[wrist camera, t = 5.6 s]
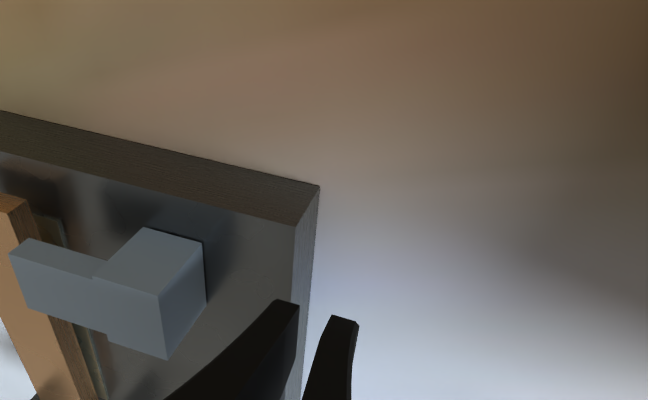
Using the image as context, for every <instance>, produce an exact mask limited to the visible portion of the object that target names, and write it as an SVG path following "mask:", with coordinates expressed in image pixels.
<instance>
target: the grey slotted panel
mask: <svg viewBox="0 0 648 400" xmlns="http://www.w3.org/2000/svg"><path fill="white" fill-rule="evenodd" d="M0 192H2V193H6V194H10V195H13V196H17V197H20V198H24V199H27V200H28V203H29V205H30V208H31V211H32V214H33V217H34V220H35V222H36V225H37V228H38V231H39V234H40V236H41V239H42V242H45V243H48V244H52V245H55V246H58V247H62V248H65V249H69V250H72V251H75V252H79V253H82V254H85V255H89V256H92V257H96V258H99V259H102V260H106V261H108V260H109V259H110V258H111V257H112V256H113V255H114V254H115V253H116V252H117V251H118V250H119V249H121V248H122V247H123V246H124V245H125V244H126V243H127V242H128V241H129V240H130V239H131V238H132V237H133V236H134V235H135V234H136V233H137V232H138V231H139V230H140V229H142V228H143V227H145V228H149V229H153V230H156V231H160V232H164V233H167V234H171V235H174V236H178V237H182V238H185V239H189V240H193V241H196V242H200V243H202V251H203V265H204V278H205V291H206V304H207V305H206V307H205V308H204V310H203V311H202V313H201V314H200V315H199V317H198V318H197V320H196V321H195V323H194V324H193V325H192V327H191V328H190V330H189V331H188V333H187V334H186V335H185V337H184V338H183V340H182V341H181V343H180V344H179V345H178V347H177V348H176V350H175V351H174V353H173V354H172V355H171V357H170V358H169V360H168V361H167V360H164V359H161V358H158V357H155V356H152V355H149V354H146V353H143V352H140V351H137V350H134V349H131V348H128V347H125V346H122V345H119V344H116V343H113V342H110V341H108V337H107V334H105V333H102V332H99V331H96V330H93V329H90V328H86V327H83V326H80V325H77V324H74V323H71V324H72V326H73V329H74V332H75V335H76V338H77V340H78V343H79V346H80V349H81V352H82V354H83V357H84V360H85V363H86V366H87V369H88V371H89V374H90V377H91V380H92V383H93V385H94V388H95V391H96V394H97V397H98V399H99V400H163V399H164V398H166V397H167V396H169V395H170V394H171V393H173V392H174V391H175V390H176V389H178V388H179V387H180V386H182V385H183V384H184V383H185V382H187V381H188V380H189V379H190V378H192V377H193V376H194V375H195V374H196V373H198V372H199V371H200V370H201V369H202V368H204V367H205V366H206V365H207V364H208V363H210V362H211V361H212V360H213V359H214V358H215V357H217V356H218V355H219V354H220V353H221V352H222V351H223V350H224V349H225V348H226V347H227V346H229V345H230V344H231V343H232V342H233V341H234V340H235V339H236V338H237V337H238V336H239V335H240V334H241V333H242V332H243V331H244V330H246V329H247V328H248V327H249V326H250V325H251V324H252V323H253V322H254V321H255V320H256V318H257V317H258V316H259V315H260V314H261V313H262V312H263V311H264V310H265V309H266V308H267V307H268V306H269V305H270V303H271V302H272V301H273V300H275V299H280V300H284V301H287V302H291V303H294V304H298V305H300V312H299V324H298V336H297V348H296V358H295V361H294V364H293V367H292V369H291V372H290V375H289V378H288V380H287V383H286V386H285V388H284V391H283V394H282V396H281V398H280V400H300V395H301V384H302V373H303V363H304V352H305V341H306V331H307V320H308V310H309V299H310V288H311V278H312V267H313V256H314V246H315V235H316V224H317V214H318V203H319V193H320V187H319V186H315V185H311V184H307V183H303V182H298V181H294V180H290V179H286V178H282V177H277V176H273V175H269V174H265V173H261V172H256V171H252V170H248V169H244V168H239V167H235V166H231V165H227V164H223V163H218V162H214V161H210V160H206V159H202V158H197V157H193V156H189V155H185V154H181V153H176V152H172V151H168V150H164V149H159V148H155V147H151V146H147V145H143V144H138V143H134V142H130V141H126V140H122V139H117V138H113V137H109V136H105V135H101V134H96V133H92V132H88V131H84V130H79V129H75V128H71V127H67V126H63V125H58V124H54V123H50V122H46V121H42V120H37V119H33V118H29V117H25V116H21V115H16V114H12V113H8V112H4V111H0ZM31 400H40V398H39V396H38V394H37V393H36V394H35V395H34V397H33V398H32V399H31Z"/></svg>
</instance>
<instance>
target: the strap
mask: <svg viewBox="0 0 648 400" xmlns="http://www.w3.org/2000/svg"><path fill="white" fill-rule="evenodd" d="M28 238H32V239H35V240H38V241H42V239H41V236H40V234H39V231H38V228H37V225H36V222H35V220H34V217H33V214H32V211H31V208H30V205H29V203H28V200H27V199H24V198H20V197H17V196H13V195H10V194H6V193H2V192H0V317H1V319H2V321H3V323H4V326H5V328H6V330H7V332H8V334H9V336H10V338H11V340H12V342H13V344H14V346H15V348H16V350H17V353H18V355H19V357H20V359H21V361H22V363H23V365H24V367H25V369H26V371H27V373H28V375H29V377H30V380H31V382H32V384H33V386H34V388H35V390H36V392H37V394H38V396H39V398H40V400H99V399H98V397H97V394H96V391H95V388H94V385H93V383H92V380H91V377H90V374H89V371H88V369H87V366H86V363H85V360H84V357H83V354H82V352H81V349H80V346H79V343H78V340H77V338H76V335H75V332H74V329H73V326H72V324H71V322H68V321H65V320H62V319H59V318H56V317H53V316H50V315H47V314H44V313H41V312H38V311H35V310H32V309H29V308H28V307H27V305H26V302H25V299H24V296H23V294H22V291H21V288H20V286H19V283H18V280H17V278H16V275H15V272H14V270H13V267H12V264H11V262H10V259H9V256H8V253H9V252H10V251H12V250H13V249H14V248H16V247H17V246H18V245H20V244H21V243H22V242H24V241H25V240H26V239H28Z"/></svg>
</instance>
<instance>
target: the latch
mask: <svg viewBox="0 0 648 400" xmlns="http://www.w3.org/2000/svg"><path fill="white" fill-rule="evenodd" d="M8 256H9V259H10V262H11V264H12V267H13V270H14V272H15V275H16V278H17V280H18V283H19V286H20V288H21V291H22V294H23V296H24V299H25V302H26V305H27V307H28V308H29V309H32V310H35V311H38V312H41V313H44V314H47V315H50V316H53V317H56V318H59V319H62V320H65V321H68V322H71V323H74V324H77V325H80V326H83V327H86V328H90V329H93V330H96V331H99V332H102V333H105V334H107V337H108V341H110V342H113V343H116V344H119V345H122V346H125V347H128V348H131V349H134V350H137V351H140V352H143V353H146V354H149V355H152V356H155V357H158V358H161V359H164V360H167V361H168V360H169V358H170V357H171V355H172V354H173V353H174V351H175V350H176V348H177V347H178V345H179V344H180V343H181V341H182V340H183V338H184V337H185V335H186V334H187V333H188V331H189V330H190V328H191V327H192V325H193V324H194V323H195V321H196V320H197V318H198V317H199V315H200V314H201V313H202V311H203V310H204V308H205V307H206V305H207V304H206V291H205V278H204V265H203V251H202V243H200V242H196V241H193V240H189V239H185V238H182V237H178V236H174V235H171V234H167V233H164V232H160V231H156V230H153V229H149V228H145V227H143V228H142V229H140V230H139V231H138V232H137V233H136V234H135V235H134V236H133V237H132V238H131V239H130V240H129V241H128V242H127V243H126V244H125V245H124V246H123V247H122V248H121V249H119V250H118V251H117V252H116V253H115V254H114V255H113V256H112V257H111V258H110V259H109V260H108V261H106V260H102V259H99V258H96V257H92V256H89V255H85V254H82V253H79V252H75V251H72V250H69V249H65V248H62V247H58V246H55V245H52V244H48V243H45V242H42V241H38V240H35V239H32V238H28V239H26V240H25V241H24V242H22V243H21V244H20V245H18V246H17V247H16V248H14V249H13V250H12V251H10V252H9V253H8Z"/></svg>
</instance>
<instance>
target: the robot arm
mask: <svg viewBox="0 0 648 400" xmlns="http://www.w3.org/2000/svg"><path fill="white" fill-rule="evenodd" d="M299 312H300V305H298V304H294V303H291V302H287V301H284V300H280V299H275V300H273V301H272V302H271V303H270V305H269V306H268V307H267V308H266V309H265V310H264V311H263V312H262V313H261V314H260V315H259V316H258V317H257V318H256V320H255V321H254V322H253V323H252V324H251V325H250V326H249V327H248V328H247V329H246V330H244V331H243V332H242V333H241V334H240V335H239V336H238V337H237V338H236V339H235V340H234V341H233V342H232V343H231V344H230V345H229V346H227V347H226V348H225V349H224V350H223V351H222V352H221V353H220V354H219V355H218V356H217V357H215V358H214V359H213V360H212V361H211V362H210V363H208V364H207V365H206V366H205V367H204V368H202V369H201V370H200V371H199V372H198V373H196V374H195V375H194V376H193V377H192V378H190V379H189V380H188V381H187V382H185V383H184V384H183V385H182V386H180V387H179V388H178V389H176V390H175V391H174V392H173V393H171V394H170V395H169V396H167V397H166V398H164V399H163V400H280V398H281V396H282V394H283V391H284V388H285V386H286V383H287V380H288V378H289V375H290V372H291V369H292V367H293V364H294V361H295V358H296V348H297V336H298V324H299ZM358 331H359V325H358V324H357V323H356V321H352V320H349V319H345V318H342V317H339V316H335V315H331V317H330V319H329V321H328V323H327V325H326V327H325V329H324V331H323V333H322V336H321V338H320V341H319V344H318V347H317V350H316V354H315V357H314V360H313V364H312V367H311V370H310V374H309V377H308V381H307V384H306V387H305V391H304V394H303V397H302V400H351V378H352V363H353V358H354V352H355V347H356V342H357V336H358Z"/></svg>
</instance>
